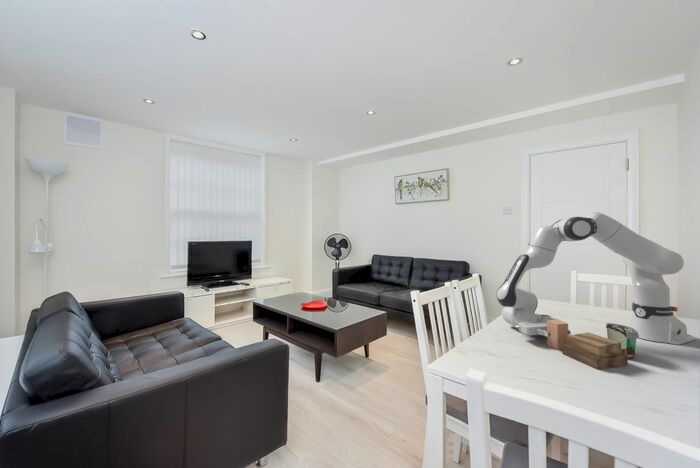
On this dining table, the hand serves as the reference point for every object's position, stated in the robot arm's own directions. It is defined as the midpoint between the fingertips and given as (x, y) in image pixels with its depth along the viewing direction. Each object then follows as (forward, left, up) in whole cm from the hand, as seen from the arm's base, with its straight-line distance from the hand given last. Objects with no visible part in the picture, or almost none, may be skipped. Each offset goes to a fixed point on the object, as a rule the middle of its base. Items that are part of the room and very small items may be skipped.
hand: (559, 333), depth 119 cm
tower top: (-2, +12, -2) cm, 12 cm away
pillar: (0, -1, -6) cm, 6 cm away
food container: (-18, +11, -6) cm, 22 cm away
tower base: (-2, +12, -6) cm, 14 cm away
